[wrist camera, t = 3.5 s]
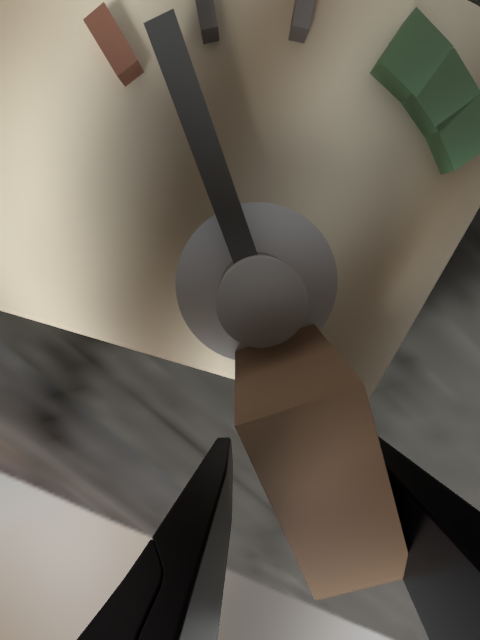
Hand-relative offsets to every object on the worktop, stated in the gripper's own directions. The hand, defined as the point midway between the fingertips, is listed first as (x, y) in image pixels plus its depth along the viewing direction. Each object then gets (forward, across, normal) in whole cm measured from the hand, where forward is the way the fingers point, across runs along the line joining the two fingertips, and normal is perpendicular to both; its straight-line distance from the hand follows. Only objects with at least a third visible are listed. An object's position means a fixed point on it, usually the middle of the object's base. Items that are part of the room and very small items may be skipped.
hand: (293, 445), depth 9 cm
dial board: (+3, +2, -8) cm, 8 cm away
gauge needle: (+1, +1, -4) cm, 5 cm away
